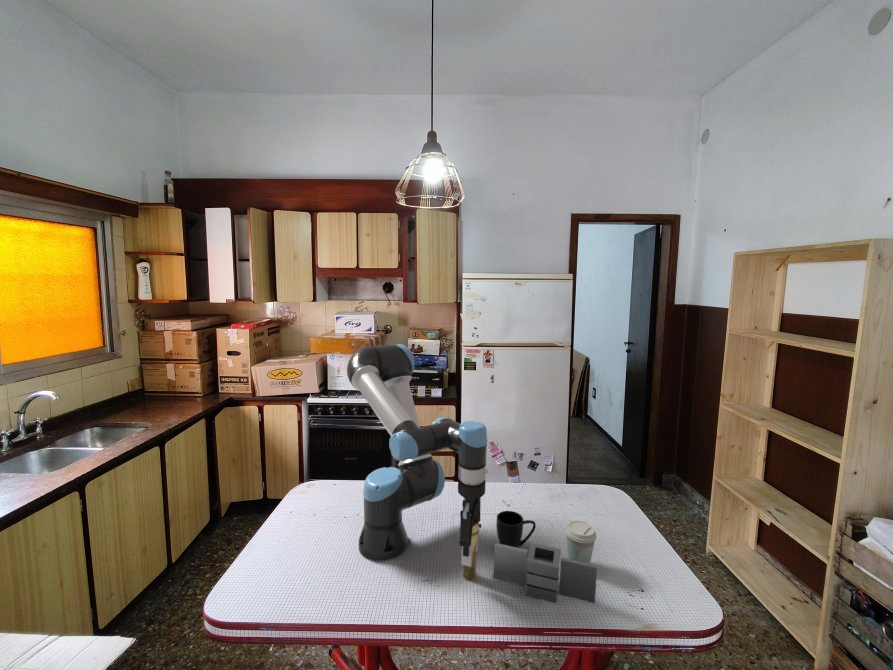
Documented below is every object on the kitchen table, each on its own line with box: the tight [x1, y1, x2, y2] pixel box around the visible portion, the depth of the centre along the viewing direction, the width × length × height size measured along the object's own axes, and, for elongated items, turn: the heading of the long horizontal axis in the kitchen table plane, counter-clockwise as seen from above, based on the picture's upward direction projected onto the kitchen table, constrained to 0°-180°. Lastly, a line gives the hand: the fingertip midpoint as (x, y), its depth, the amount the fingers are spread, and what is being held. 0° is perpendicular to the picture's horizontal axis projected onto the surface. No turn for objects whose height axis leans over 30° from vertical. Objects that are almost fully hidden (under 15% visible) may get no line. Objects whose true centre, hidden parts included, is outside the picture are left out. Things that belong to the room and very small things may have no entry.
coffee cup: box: [565, 519, 597, 564], centre depth 119 cm, size 8×8×12 cm
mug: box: [496, 510, 537, 548], centre depth 128 cm, size 8×12×10 cm
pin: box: [462, 521, 480, 581], centre depth 114 cm, size 5×5×15 cm
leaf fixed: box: [525, 542, 598, 604], centre depth 109 cm, size 17×8×10 cm, turn 72°
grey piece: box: [492, 542, 561, 591], centre depth 112 cm, size 17×8×10 cm, turn 72°
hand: (469, 556), depth 114 cm, fingers open, 6 cm apart
